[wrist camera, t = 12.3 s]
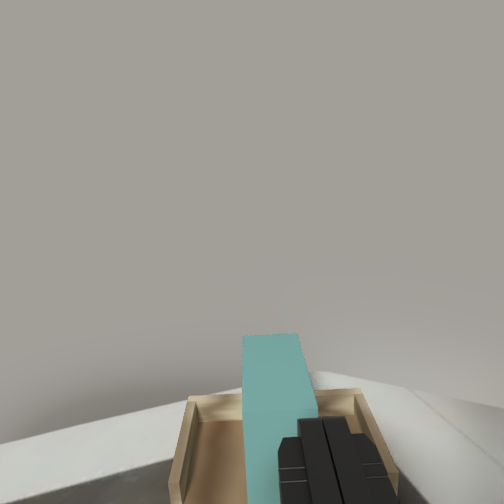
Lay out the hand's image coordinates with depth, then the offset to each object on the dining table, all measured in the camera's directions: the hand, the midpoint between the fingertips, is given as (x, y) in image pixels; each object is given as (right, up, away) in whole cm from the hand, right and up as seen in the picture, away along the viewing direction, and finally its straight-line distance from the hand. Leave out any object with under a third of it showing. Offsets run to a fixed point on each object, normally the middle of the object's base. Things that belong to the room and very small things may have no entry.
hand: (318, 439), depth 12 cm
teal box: (+1, -16, +26) cm, 31 cm away
